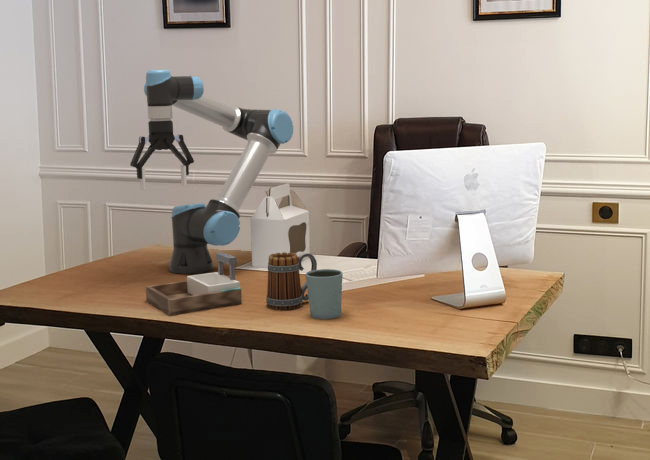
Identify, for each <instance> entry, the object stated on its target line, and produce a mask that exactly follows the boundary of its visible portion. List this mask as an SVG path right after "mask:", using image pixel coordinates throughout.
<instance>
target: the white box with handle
mask: <svg viewBox="0 0 650 460" xmlns="http://www.w3.org/2000/svg"><path fill="white" fill-rule="evenodd" d="M215 260H216V261H217V271H214V272H206V273H198V274H193V275H187V276H186V281H187V289H188V293H190V294H192V295H200V294H206V293H213V292H220V291H221V290H226V289H233V288H241V284H240V283H241V282H240V281H238V280H236V265H237V264H238V263H237V262H238V261H237V257H236V256H234V255H231V254H229V253H226V252H223V251H221V252H215ZM224 264H226V265H228V266H229V276H227V275H225V274H224Z"/></svg>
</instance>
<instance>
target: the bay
mask: <svg viewBox="0 0 650 460" xmlns="http://www.w3.org/2000/svg"><path fill="white" fill-rule="evenodd" d="M145 299H146V302H147V303H149V304H151V305H152V306H154V307H155V308H157V309H158V310H160V311H161V312H163V313H165V314H166V315H168V316H169V317H171V316H172V317H173V316H178V315H182V314H183V315H184V314H190V313H196V312H202V311H210V310H215V309H222V308H228V307H233V306H240V305H243V301H242V299H243V298H242V288H241V287H240V288H233V289H226V290H221V291H220V292H213V293H206V294H200V295H192V294H190V293H188V289H187V280H182V281H174V282H168V283H162V284H160V283H159V284H154V285H147V286H145Z"/></svg>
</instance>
